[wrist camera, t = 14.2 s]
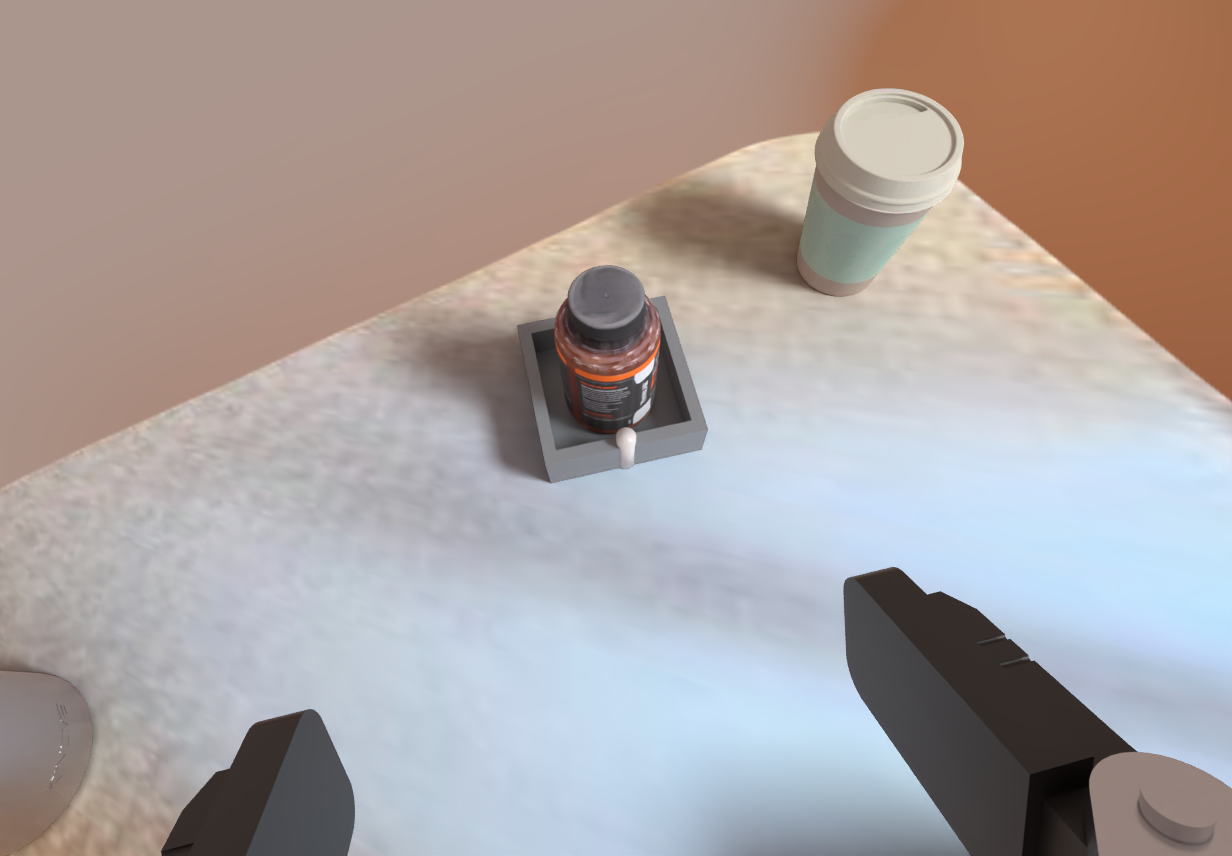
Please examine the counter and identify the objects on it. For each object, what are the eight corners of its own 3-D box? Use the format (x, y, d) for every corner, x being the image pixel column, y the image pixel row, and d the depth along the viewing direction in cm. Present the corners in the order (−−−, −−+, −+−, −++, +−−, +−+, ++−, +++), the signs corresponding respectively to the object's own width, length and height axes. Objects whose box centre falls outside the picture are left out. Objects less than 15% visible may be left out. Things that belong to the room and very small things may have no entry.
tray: (551, 486, 41) (544, 464, 37) (523, 348, 45) (515, 317, 42) (702, 452, 42) (710, 427, 38) (661, 320, 46) (664, 286, 42)
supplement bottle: (668, 419, 42) (683, 325, 32) (583, 450, 41) (570, 363, 31) (635, 346, 44) (639, 236, 34) (553, 373, 43) (532, 268, 33)
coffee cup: (905, 241, 49) (987, 105, 38) (876, 328, 46) (957, 207, 35) (797, 206, 50) (846, 65, 39) (762, 288, 47) (805, 161, 36)
